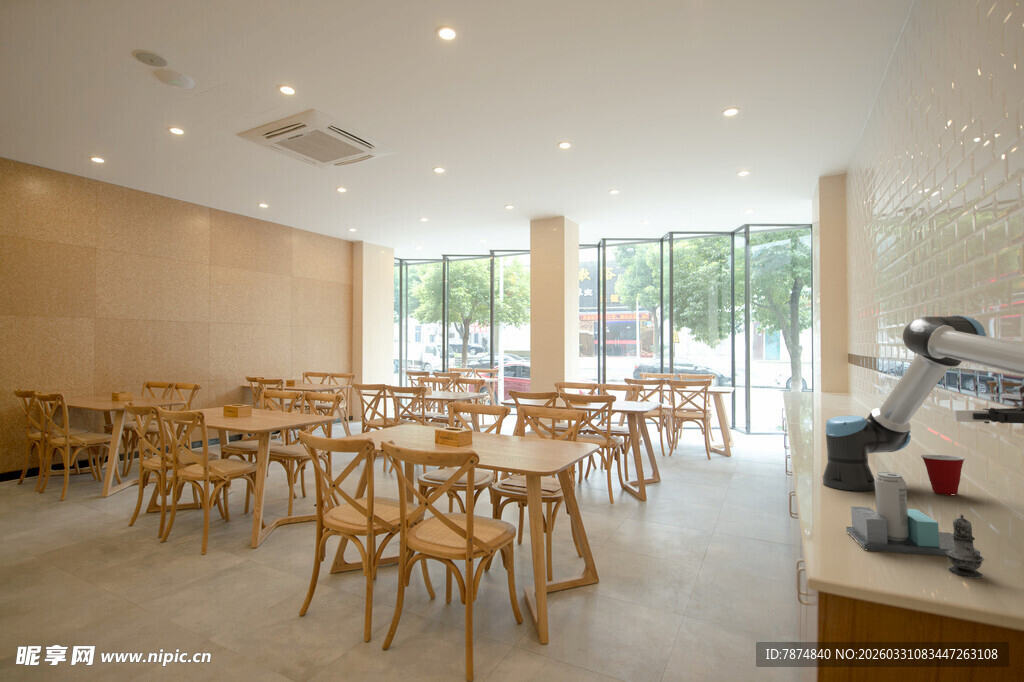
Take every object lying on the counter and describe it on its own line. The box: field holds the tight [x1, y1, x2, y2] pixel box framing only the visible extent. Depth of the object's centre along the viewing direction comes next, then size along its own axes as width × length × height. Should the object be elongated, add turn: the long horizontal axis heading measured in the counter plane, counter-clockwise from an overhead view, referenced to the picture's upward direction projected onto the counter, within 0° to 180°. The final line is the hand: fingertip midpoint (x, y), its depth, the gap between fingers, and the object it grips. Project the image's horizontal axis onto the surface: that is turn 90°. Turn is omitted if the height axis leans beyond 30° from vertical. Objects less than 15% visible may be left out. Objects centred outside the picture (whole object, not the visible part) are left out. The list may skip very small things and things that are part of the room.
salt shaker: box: [946, 513, 985, 579], centre depth 103 cm, size 6×6×12 cm
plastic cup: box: [920, 454, 966, 496], centre depth 159 cm, size 11×11×12 cm
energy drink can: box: [874, 471, 909, 541], centre depth 120 cm, size 6×6×15 cm
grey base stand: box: [845, 505, 981, 557], centre depth 119 cm, size 12×22×7 cm, turn 73°
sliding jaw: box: [907, 508, 940, 547], centre depth 118 cm, size 10×4×6 cm, turn 163°
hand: (954, 415), depth 121 cm, fingers closed
